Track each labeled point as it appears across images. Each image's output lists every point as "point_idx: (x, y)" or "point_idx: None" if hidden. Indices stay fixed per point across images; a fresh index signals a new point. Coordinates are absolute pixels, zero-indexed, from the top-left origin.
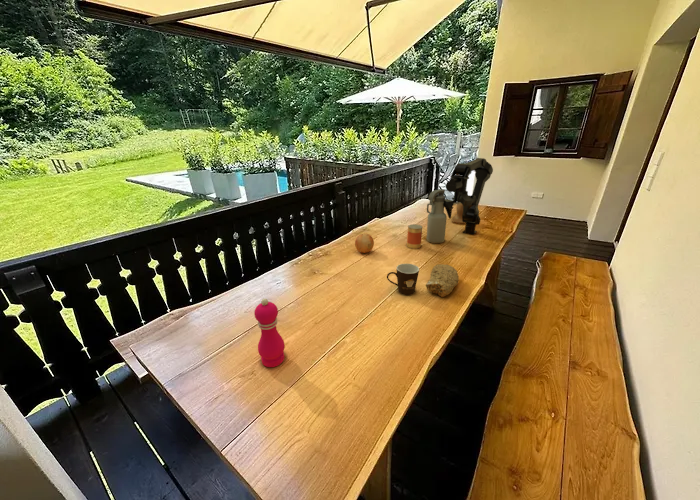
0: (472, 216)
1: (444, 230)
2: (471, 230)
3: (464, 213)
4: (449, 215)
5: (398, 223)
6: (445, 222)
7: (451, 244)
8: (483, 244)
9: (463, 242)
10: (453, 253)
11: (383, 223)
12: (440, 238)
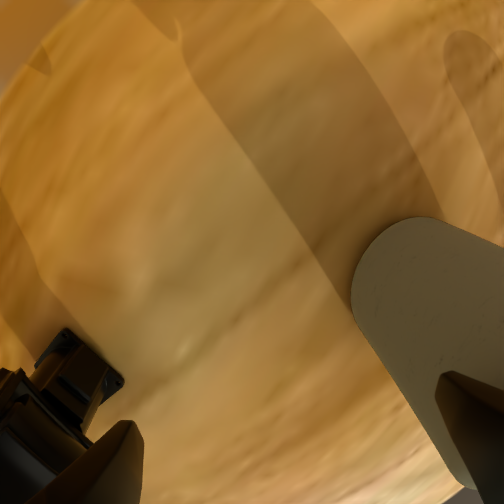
0: (17, 432)
1: (439, 260)
2: (65, 357)
3: (125, 471)
4: (492, 397)
5: (397, 499)
6: (490, 307)
7: (336, 177)
8: (76, 126)
9: (209, 196)
10: (399, 27)
11: (443, 489)
12: (435, 224)
